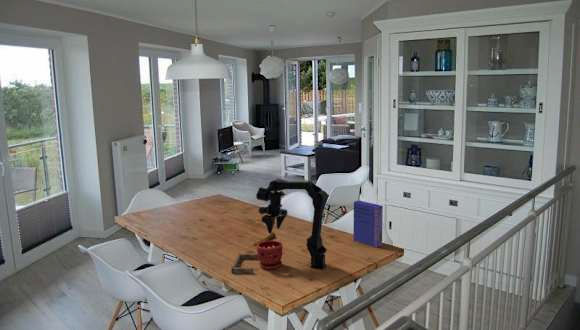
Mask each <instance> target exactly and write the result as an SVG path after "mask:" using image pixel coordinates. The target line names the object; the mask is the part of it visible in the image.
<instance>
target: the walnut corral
mask: <svg viewBox="0 0 580 330" xmlns="http://www.w3.org/2000/svg"><path fill="white" fill-rule="evenodd" d="M241 260H259V257H258V253H239V254H238V255H237V256H236V259H235V261H234V263H233V264H232V266H231V274H246V275H247V274H251V275H252V274H254V268H253V267H238V266H239V264H240V261H241Z"/></svg>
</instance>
